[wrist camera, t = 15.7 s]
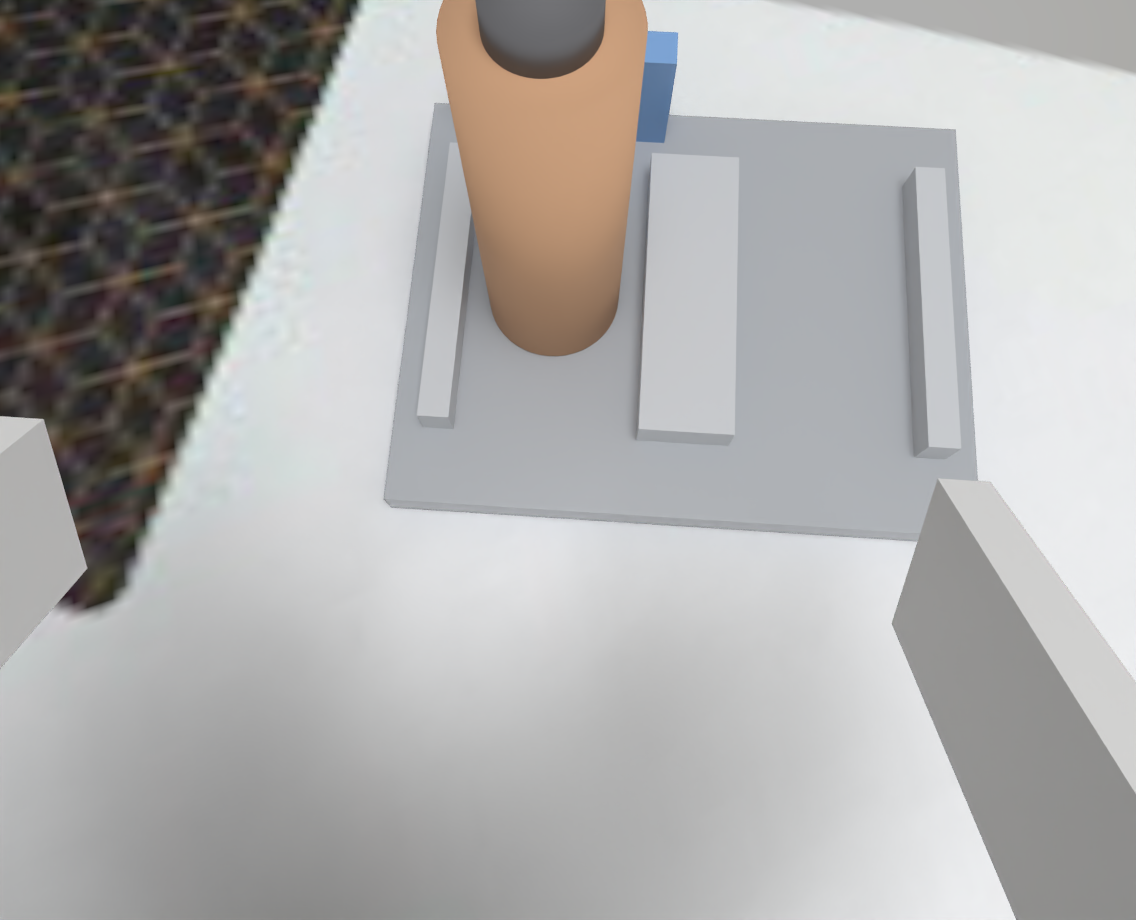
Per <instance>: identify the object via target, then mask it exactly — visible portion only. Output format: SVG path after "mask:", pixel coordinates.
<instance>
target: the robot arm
mask: <svg viewBox="0 0 1136 920" xmlns="http://www.w3.org/2000/svg"><path fill="white" fill-rule="evenodd" d="M86 569H87V566H86V562H85V559H84V555H83V552H82V549H81V545H80V542H79V538H78V535H77V532H76V528H75V525H74V521H73V518H72V515H71V511H70V508H69V504H68V501H67V498H66V494H65V491H64V487H63V484H62V481H61V477H60V474H59V470H58V467H57V464H56V460H55V457H54V453H53V450H52V447H51V443H50V440H49V436H48V433H47V430H46V426H45V423H44V419H32V418H17V417H2V416H0V669H1V667H2V666H3V665H4V664H5V663H6V662H7V661H8V659H9V658H10V657H11V656H12V655H13V654H14V652H15V651H16V650H17V649H18V648H19V647H20V646H21V644H22V643H23V642H24V641H25V640H26V639H27V637H28V636H29V635H30V634H31V633H32V632H33V631H34V629H35V628H36V627H37V626H38V625H39V624H40V622H41V621H42V620H43V619H44V618H45V617H46V616H47V614H48V613H49V612H50V611H51V610H52V609H53V607H54V606H55V605H56V604H57V603H58V602H59V601H60V599H61V598H62V597H63V596H64V595H65V594H66V592H67V591H68V590H69V589H70V588H71V587H72V586H73V584H74V583H75V582H76V581H77V580H78V579H79V577H80V576H81V575H82V574H83V573H84V572H85V571H86ZM892 625H893V628H894V630H895V632H896V635H897V637H898V640H899V642H900V644H901V647H902V649H903V651H904V654H905V656H906V659H907V661H908V663H909V666H910V668H911V670H912V673H913V675H914V678H915V680H916V682H917V685H918V687H919V690H920V692H921V694H922V697H923V699H924V701H925V704H926V706H927V709H928V711H929V713H930V716H931V718H932V720H933V723H934V725H935V728H936V730H937V732H938V735H939V737H940V739H941V742H942V744H943V747H944V749H945V751H946V754H947V756H948V758H949V761H950V763H951V766H952V768H953V770H954V773H955V775H956V777H957V780H958V782H959V785H960V787H961V789H962V792H963V794H964V796H965V799H966V801H967V804H968V806H969V808H970V811H971V813H972V815H973V818H974V820H975V823H976V825H977V827H978V830H979V832H980V834H981V837H982V839H983V842H984V844H985V846H986V849H987V851H988V853H989V856H990V858H991V861H992V863H993V865H994V868H995V870H996V873H997V875H998V877H999V880H1000V882H1001V884H1002V887H1003V889H1004V892H1005V894H1006V896H1007V899H1008V901H1009V903H1010V906H1011V908H1012V911H1013V913H1014V915H1015V918H1016V920H1136V682H1135V680H1134V679H1133V677H1132V676H1131V675H1130V673H1129V672H1128V671H1127V669H1126V668H1125V666H1124V665H1123V664H1122V662H1121V661H1120V660H1119V658H1118V657H1117V655H1116V654H1115V653H1114V651H1113V650H1112V649H1111V647H1110V646H1109V644H1108V643H1107V642H1106V640H1105V639H1104V637H1103V636H1102V635H1101V633H1100V632H1099V631H1098V629H1097V628H1096V626H1095V625H1094V624H1093V622H1092V621H1091V620H1090V618H1089V617H1088V615H1087V614H1086V613H1085V611H1084V610H1083V609H1082V607H1081V606H1080V604H1079V603H1078V602H1077V600H1076V599H1075V598H1074V596H1073V595H1072V593H1071V592H1070V591H1069V589H1068V588H1067V586H1066V585H1065V584H1064V582H1063V581H1062V580H1061V578H1060V577H1059V575H1058V574H1057V573H1056V571H1055V570H1054V569H1053V567H1052V566H1051V564H1050V563H1049V562H1048V560H1047V559H1046V558H1045V556H1044V555H1043V553H1042V552H1041V551H1040V549H1039V548H1038V547H1037V545H1036V544H1035V542H1034V541H1033V540H1032V538H1031V537H1030V535H1029V534H1028V533H1027V531H1026V530H1025V529H1024V527H1023V526H1022V524H1021V523H1020V522H1019V520H1018V519H1017V518H1016V516H1015V515H1014V513H1013V512H1012V511H1011V509H1010V508H1009V507H1008V505H1007V504H1006V502H1005V501H1004V500H1003V498H1002V497H1001V495H1000V494H999V493H998V491H997V490H996V489H995V487H994V486H993V484H992V483H991V482H985V481H970V480H955V479H940V478H938V479H937V482H936V485H935V488H934V491H933V495H932V498H931V501H930V504H929V507H928V510H927V514H926V517H925V520H924V523H923V526H922V529H921V533H920V536H919V539H918V542H917V545H916V548H915V552H914V555H913V558H912V561H911V564H910V567H909V571H908V574H907V577H906V580H905V583H904V586H903V590H902V593H901V596H900V599H899V602H898V605H897V609H896V612H895V615H894V618H893V621H892Z"/></svg>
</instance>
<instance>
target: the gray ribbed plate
mask: <svg viewBox="0 0 1136 920" xmlns="http://www.w3.org/2000/svg"><path fill="white" fill-rule="evenodd" d="M677 45H678V33H676V32H655V31H648V35H647V44H646V53H645V62H644V72H643V81H642V90H641V99H640V108H639V117H638V127H637V136H636V145H635V154H634V163H633V172H632V182H631V191H630V200H629V209H628V218H627V227H626V236H625V246H624V255H623V264H622V273H621V282H620V291H619V301H618V308H617V312H616V315H615V318H614V320H613V322H612V324H611V326H610V327H609V329H608V330H607V331H606V333H605V334H604V335H603V336H602V337H601V338H600V339H599V340H598V341H597V342H595V343H594V344H592V345H591V346H589V347H588V348H586V349H584V350H582V351H579V352H576V353H573V354H569V355H563V356H545V355H539V354H535V353H531V352H529V351H526V350H524V349H522V348H520V347H519V346H517V345H515V344H514V343H513V342H511V341H510V340H509V339H508V338H507V337H506V336H505V335H504V334H503V333H502V331H501V330H500V329H499V327H498V325H497V323H496V322H495V319H494V317H493V314H492V310H491V305H490V300H489V296H488V291H487V286H486V281H485V276H484V271H483V266H482V261H481V256H480V251H479V246H478V241H477V236H476V231H475V227H474V222H473V217H472V212H471V207H470V202H469V197H468V192H467V187H466V182H465V177H464V172H463V167H462V162H461V158H460V153H459V148H458V143H457V138H456V133H455V128H454V123H453V118H452V113H451V108H450V104H445V103H435V104H434V112H433V120H432V128H431V136H430V143H429V151H428V159H427V167H426V174H425V182H424V190H423V198H422V205H421V213H420V221H419V229H418V236H417V244H416V252H415V260H414V267H413V275H412V283H411V291H410V298H409V306H408V314H407V322H406V330H405V337H404V345H403V353H402V361H401V368H400V376H399V384H398V392H397V399H396V407H395V415H394V423H393V430H392V438H391V446H390V454H389V461H388V469H387V477H386V485H385V492H384V500H385V501H386V502H387V503H388V504H389V505H390V506H391V507H396V508H412V509H427V510H443V511H458V512H474V513H489V514H505V515H520V516H536V517H551V518H567V519H582V520H598V521H614V522H629V523H645V524H660V525H676V526H691V527H707V528H722V529H738V530H753V531H769V532H784V533H800V534H815V535H831V536H846V537H862V538H878V539H893V540H909V541H918V539H919V536H920V533H921V529H922V526H923V523H924V520H925V517H926V514H927V510H928V507H929V504H930V501H931V498H932V495H933V491H934V488H935V485H936V482H937V479H938V478H940V479H955V480H970V481H978V476H977V460H976V445H975V429H974V413H973V397H972V381H971V366H970V350H969V334H968V318H967V302H966V287H965V271H964V255H963V239H962V223H961V208H960V192H959V176H958V160H957V144H956V130H954V129H935V128H915V127H895V126H876V125H856V124H837V123H817V122H797V121H778V120H758V119H739V118H719V117H699V116H680V115H669V110H670V104H671V97H672V91H673V85H674V78H675V72H676V66H677Z"/></svg>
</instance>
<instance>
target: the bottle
mask: <svg viewBox="0 0 1136 920" xmlns="http://www.w3.org/2000/svg"><path fill="white" fill-rule="evenodd" d="M436 34H437V44H438V49H439V54H440V59H441V64H442V69H443V74H444V79H445V84H446V89H447V93H448V98H449V103H450V108H451V113H452V118H453V123H454V128H455V133H456V138H457V143H458V148H459V153H460V158H461V162H462V167H463V172H464V177H465V182H466V187H467V192H468V197H469V202H470V207H471V212H472V217H473V222H474V227H475V231H476V236H477V241H478V246H479V251H480V256H481V261H482V266H483V271H484V276H485V281H486V286H487V291H488V296H489V300H490V305H491V310H492V314H493V317H494V319H495V322H496V323H497V325H498V327H499V329H500V330H501V331H502V333H503V334H504V335H505V336H506V337H507V338H508V339H509V340H510V341H511V342H513V343H514V344H515V345H517V346H519V347H520V348H522V349H524V350H526V351H529V352H531V353H535V354H539V355H545V356H563V355H569V354H573V353H576V352H579V351H582V350H584V349H586V348H588V347H589V346H591V345H592V344H594V343H595V342H597V341H598V340H599V339H600V338H601V337H602V336H603V335H604V334H605V333H606V331H607V330H608V329H609V327H610V326H611V324H612V322H613V320H614V318H615V315H616V312H617V308H618V301H619V291H620V282H621V273H622V264H623V255H624V246H625V236H626V227H627V218H628V209H629V200H630V191H631V182H632V172H633V163H634V154H635V145H636V136H637V127H638V117H639V108H640V99H641V90H642V81H643V72H644V62H645V53H646V44H647V35H648V23H647V17H646V11H645V8H644V5H643V2H642V0H443V3H442V5H441V8H440V11H439V15H438V19H437V29H436Z"/></svg>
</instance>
